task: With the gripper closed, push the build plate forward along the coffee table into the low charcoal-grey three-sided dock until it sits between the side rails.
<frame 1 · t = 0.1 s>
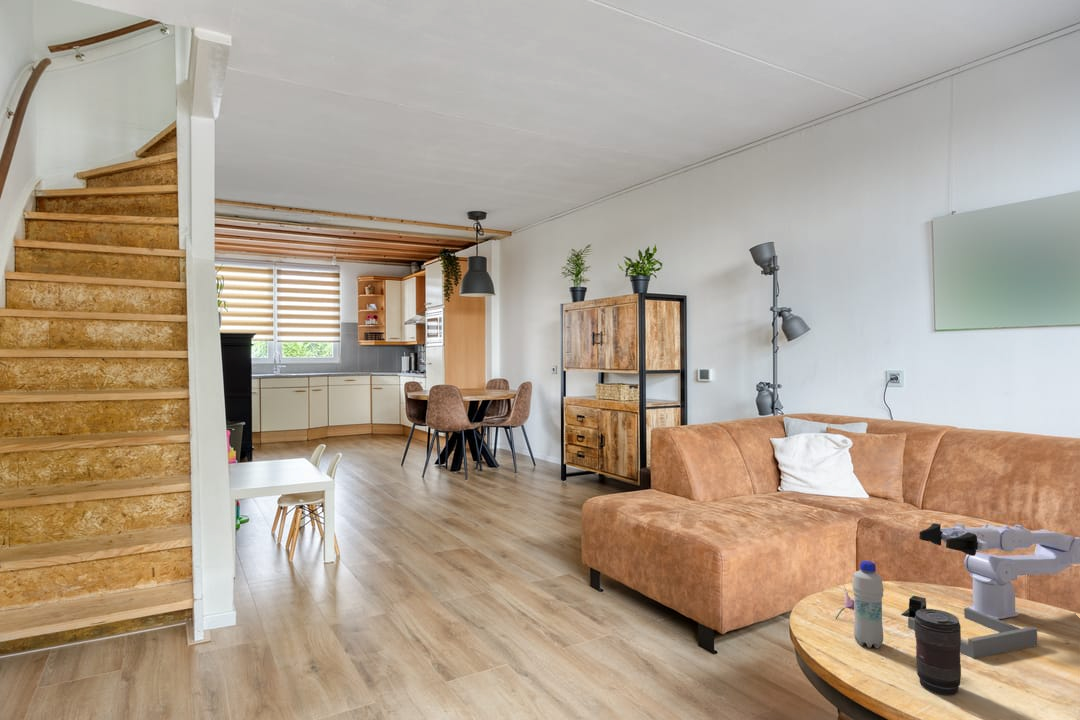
hand: (933, 539, 158), 22 cm above the table, tool horizontal, fingers open, 7 cm apart
lily: (853, 621, 160), on the table
camera lens: (938, 688, 127), on the table
bottle: (868, 644, 147), on the table
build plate: (917, 616, 164), on the table
dock: (968, 635, 151), on the table
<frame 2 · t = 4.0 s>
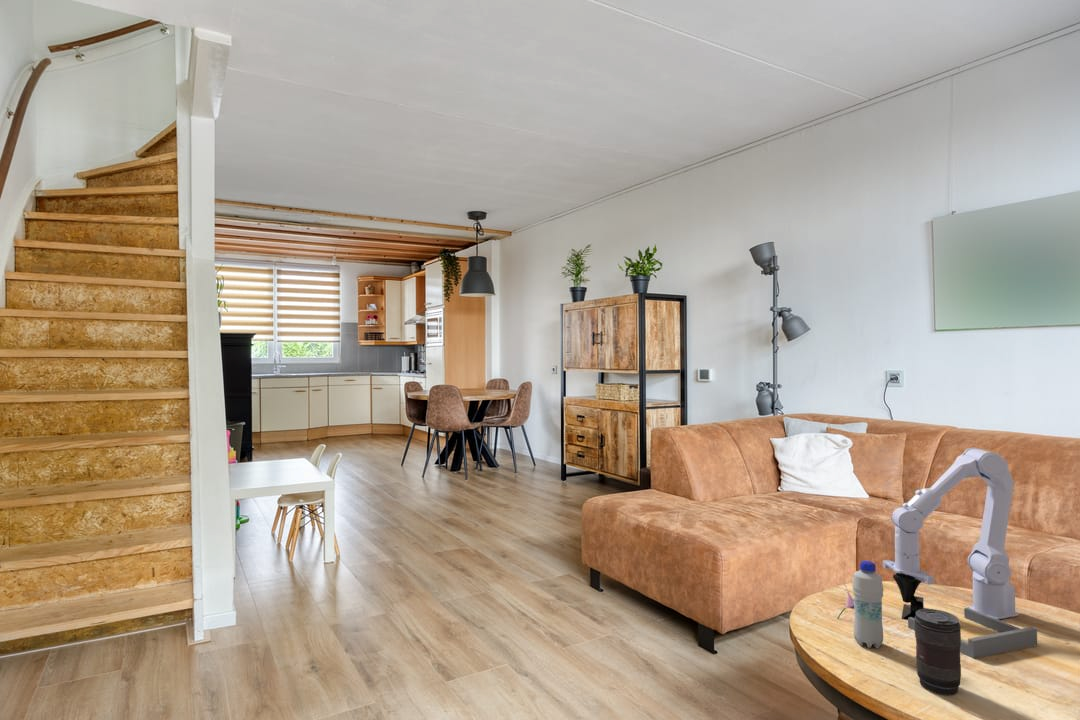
hand: (907, 601, 167), 2 cm above the table, tool pointing down, fingers closed
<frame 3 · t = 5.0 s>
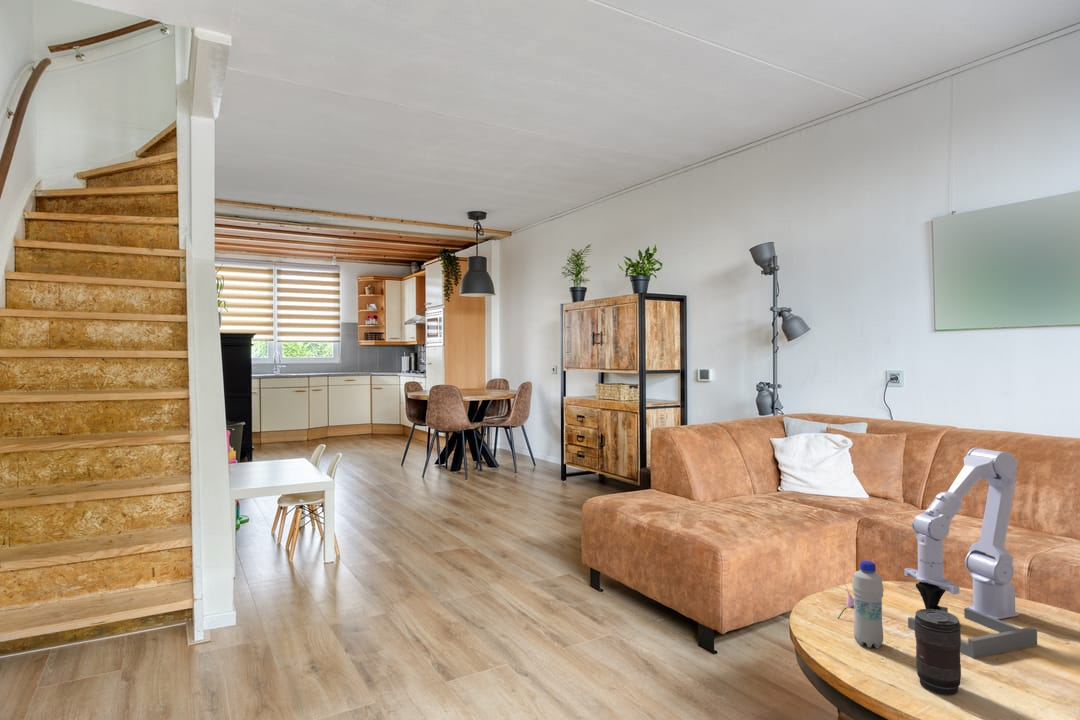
hand: (931, 611, 160), 2 cm above the table, tool pointing down, fingers closed
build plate: (940, 626, 157), on the table, touching gripper
everything else where it was.
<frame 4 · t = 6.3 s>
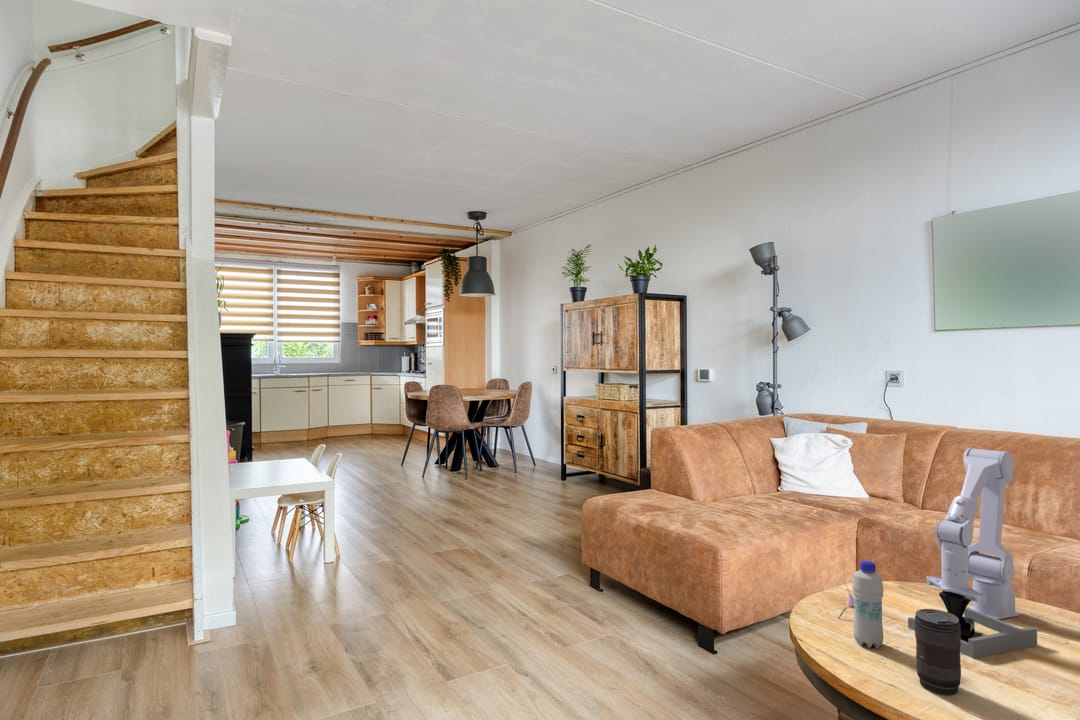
hand: (955, 622, 154), 2 cm above the table, tool pointing down, fingers closed
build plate: (965, 639, 150), on the table, touching gripper
everything else where it was.
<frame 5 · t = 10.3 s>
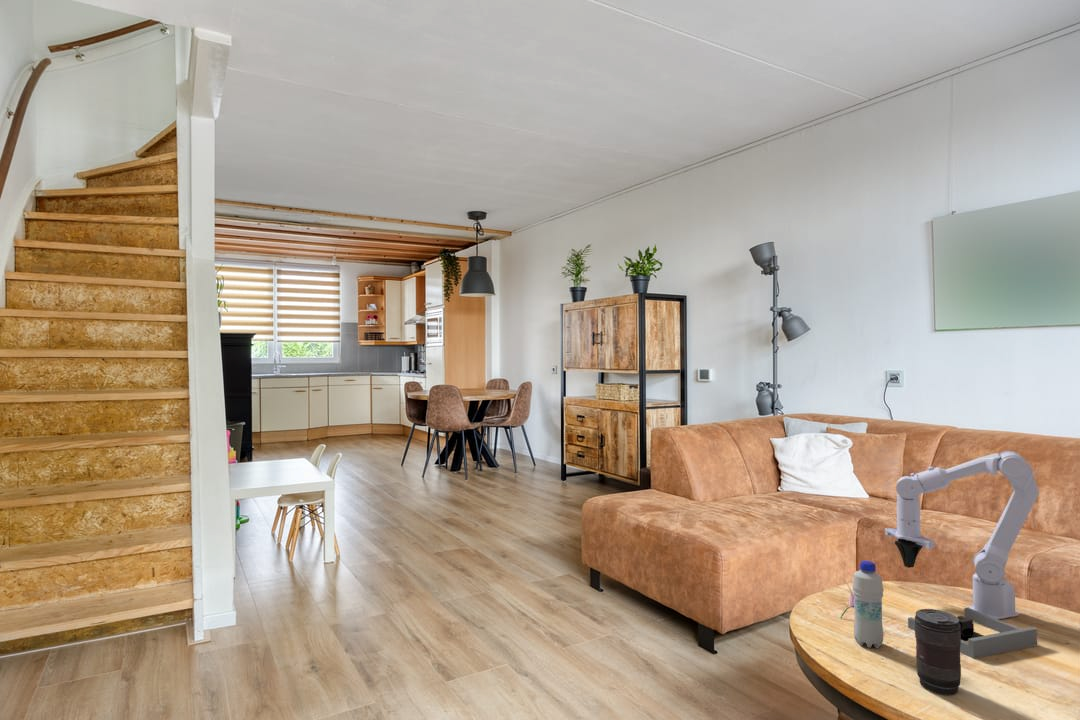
hand: (909, 566, 174), 9 cm above the table, tool pointing down, fingers closed
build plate: (962, 638, 151), on the table
at the end: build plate inside the target area (1.8 cm from its centre), on the table; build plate tilted 0° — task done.
